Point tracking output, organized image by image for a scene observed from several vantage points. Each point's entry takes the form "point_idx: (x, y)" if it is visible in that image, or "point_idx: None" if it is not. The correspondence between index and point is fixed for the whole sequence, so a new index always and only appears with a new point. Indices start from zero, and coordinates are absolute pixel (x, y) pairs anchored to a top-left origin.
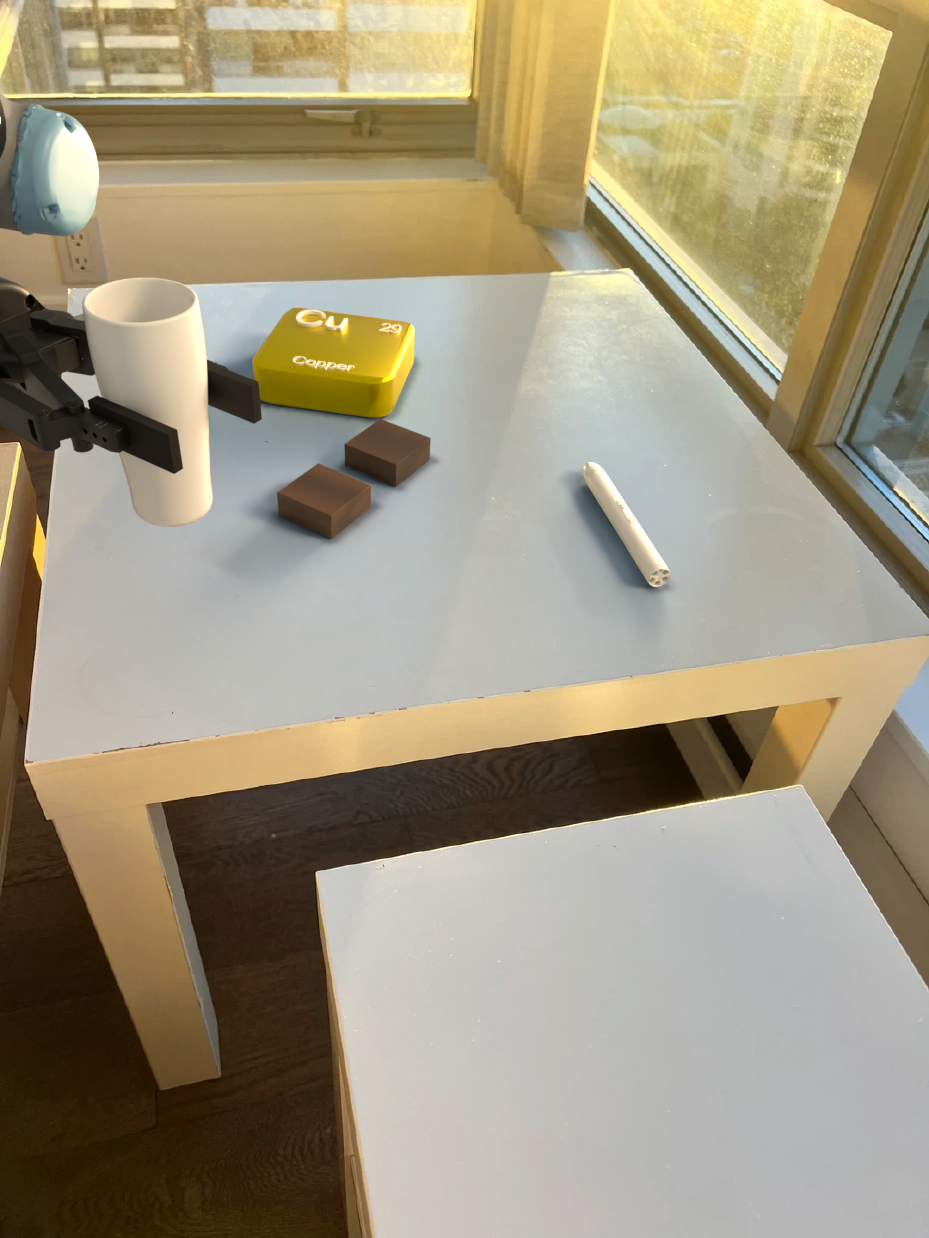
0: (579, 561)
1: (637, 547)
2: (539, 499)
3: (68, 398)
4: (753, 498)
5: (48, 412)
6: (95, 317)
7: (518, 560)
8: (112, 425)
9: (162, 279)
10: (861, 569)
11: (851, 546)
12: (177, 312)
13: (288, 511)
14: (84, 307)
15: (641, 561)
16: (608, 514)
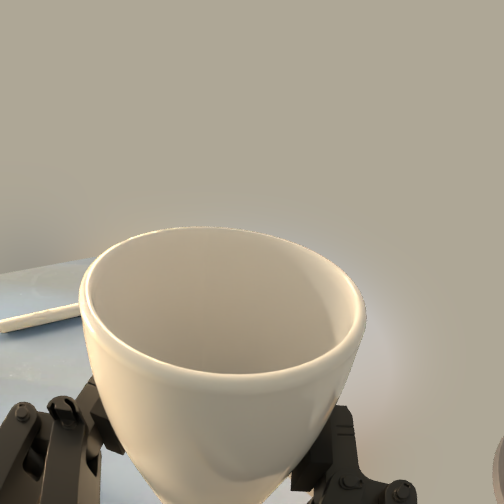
0: (68, 338)
1: (67, 310)
2: (13, 354)
3: (344, 497)
4: (25, 282)
5: (395, 485)
6: (363, 303)
7: (68, 363)
8: (336, 419)
9: (89, 273)
10: (74, 263)
11: (60, 263)
12: (110, 321)
13: (39, 497)
14: (354, 339)
15: (76, 310)
16: (36, 322)
